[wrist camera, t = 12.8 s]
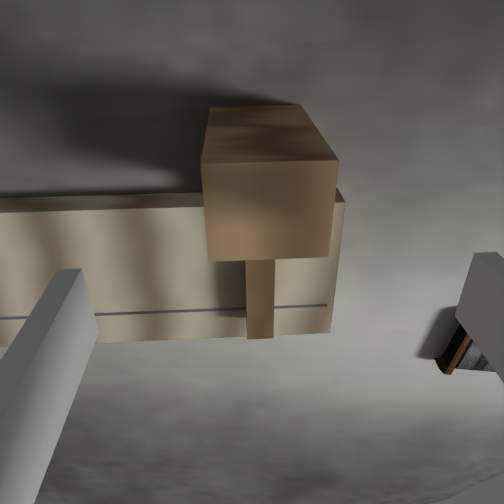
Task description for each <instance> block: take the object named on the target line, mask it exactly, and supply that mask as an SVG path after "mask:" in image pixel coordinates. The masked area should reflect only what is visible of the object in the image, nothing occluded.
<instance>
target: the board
mask: <svg viewBox="0 0 504 504" xmlns="http://www.w3.org/2000/svg"><path fill="white" fill-rule="evenodd" d="M345 204H346V202H345V200H344V199H343V197H342V195H341V194H340V192H339V190H338V188H336V194H335V203H334V213H333V222H332V232H331V242H330V251H329V257H323V258H296V259H275V296H274V335H292V334H315V333H330V329H331V321H332V313H333V304H334V296H335V288H336V279H337V271H338V262H339V254H340V246H341V237H342V229H343V221H344V212H345ZM58 269H82V271H83V275H84V278H85V282H86V286H87V289H88V293H89V297H90V300H91V304H92V308H93V311H94V315H95V319H96V323H97V326H98V330H99V334H98V336H97V339H96V342H95V343H106V342H130V341H153V340H176V339H199V338H222V337H246V336H247V326H246V288H245V260H241V261H214V262H208V252H207V240H206V227H205V214H204V202H203V192H194V193H160V194H126V195H92V196H58V197H24V198H0V347H10V345H11V343H12V342H13V340H14V339H15V337H16V336H17V334H18V332H19V331H20V329H21V328H22V326H23V324H24V323H25V321H26V320H27V318H28V316H29V315H30V313H31V312H32V310H33V308H34V307H35V305H36V304H37V302H38V300H39V299H40V297H41V296H42V294H43V292H44V291H45V289H46V288H47V286H48V284H49V283H50V281H51V280H52V278H53V276H54V275H55V273H56V272H57V270H58Z"/></svg>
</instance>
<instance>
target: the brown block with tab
mask: <svg viewBox="0 0 504 504" xmlns="http://www.w3.org/2000/svg"><path fill="white" fill-rule="evenodd" d="M338 165H339V159H338V158H337V157H336V155H335V154H334V152H333V151H332V149H331V148H330V147H329V145H328V144H327V142H326V141H325V139H324V138H323V137H322V135H321V134H320V132H319V131H318V129H317V128H316V127H315V125H314V124H313V122H312V121H311V119H310V118H309V116H308V115H307V114H306V112H305V111H304V109H303V108H302V106H301V105H279V106H234V107H210V109H209V115H208V121H207V127H206V133H205V139H204V146H203V152H202V158H201V176H202V189H203V202H204V214H205V227H206V240H207V252H208V262H214V261H241V260H245V288H246V326H247V339H265V338H274V296H275V259H296V258H323V257H329V251H330V242H331V232H332V222H333V213H334V203H335V194H336V184H337V174H338Z"/></svg>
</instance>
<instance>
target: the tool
mask: <svg viewBox="0 0 504 504" xmlns="http://www.w3.org/2000/svg"><path fill="white" fill-rule="evenodd" d="M435 361H436V363H437V365H438V367H439V369H440V370H441V371H442V372H443V373H444V374H448V375H451V373H452V372H453V370H454V368H456V369H468V370H479V371H491V372H496V371H495V370H494V369H493V367H492V366H491V365H490V363H489V362H488V361H487V359H486V358H485V356H484V355H483V354H482V352H481V351H480V350H479V348H478V347H477V346H476V344H475V343H474V341H473V340H472V339H471V337H470V336H469V335H468V333H467V332H466V331H465V329H464V328H463V326H462V325H461V324H460V325H459V327H458V328H457V330H456V332H455V334H454V336H453V338H452V339H451V341H450V343H449V345H448V347H447V348H446V350H445V352H444V354H443V356H442V358H441V359H436V358H435Z"/></svg>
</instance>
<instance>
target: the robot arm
mask: <svg viewBox="0 0 504 504" xmlns="http://www.w3.org/2000/svg"><path fill="white" fill-rule="evenodd" d="M455 317H456V318H457V320H458V321H459V322H460V324H461V325H462V326H463V328H464V329H465V331H466V332H467V333H468V335H469V336H470V337H471V339H472V340H473V341H474V343H475V344H476V346H477V347H478V348H479V350H480V351H481V352H482V354H483V355H484V356H485V358H486V359H487V361H488V362H489V363H490V365H491V366H492V367H493V369H494V370H495V371H496V373H497V374H498V375H499V377H500V378H501V380H502V381H503V382H504V258H502V257H501V256H500V255H499V254H498V253H497V252H483V253H474V256H473V259H472V262H471V265H470V269H469V272H468V275H467V278H466V281H465V284H464V287H463V291H462V294H461V297H460V300H459V303H458V306H457V310H456V313H455ZM98 334H99V330H98V326H97V323H96V319H95V315H94V311H93V308H92V304H91V300H90V297H89V293H88V289H87V286H86V282H85V278H84V275H83V271H82V269H58V270H57V272H56V273H55V275H54V276H53V278H52V280H51V281H50V283H49V284H48V286H47V288H46V289H45V291H44V292H43V294H42V296H41V297H40V299H39V300H38V302H37V304H36V305H35V307H34V308H33V310H32V312H31V313H30V315H29V316H28V318H27V320H26V321H25V323H24V324H23V326H22V328H21V329H20V331H19V332H18V334H17V336H16V337H15V339H14V340H13V342H12V343H11V345H10V347H9V348H8V350H7V351H6V353H5V355H4V356H3V358H2V359H1V361H0V504H34V501H35V499H36V496H37V494H38V491H39V488H40V486H41V483H42V481H43V478H44V475H45V473H46V470H47V467H48V465H49V462H50V460H51V457H52V454H53V452H54V449H55V446H56V444H57V441H58V439H59V436H60V433H61V431H62V428H63V426H64V423H65V420H66V418H67V415H68V412H69V410H70V407H71V405H72V402H73V399H74V397H75V394H76V391H77V389H78V386H79V384H80V381H81V378H82V376H83V373H84V371H85V368H86V365H87V363H88V360H89V357H90V355H91V352H92V350H93V347H94V344H95V342H96V339H97V336H98Z"/></svg>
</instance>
